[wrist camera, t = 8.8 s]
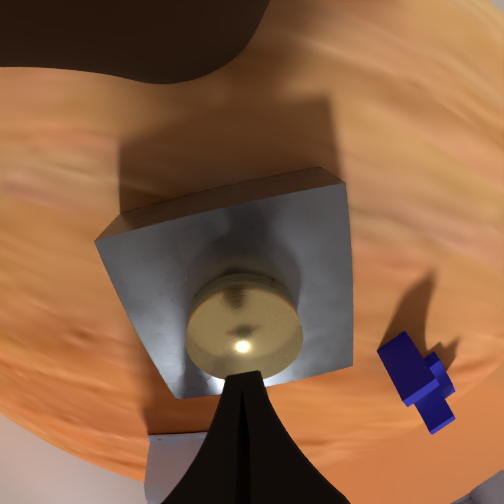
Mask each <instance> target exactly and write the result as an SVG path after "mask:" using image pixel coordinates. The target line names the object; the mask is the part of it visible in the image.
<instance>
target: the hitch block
mask: <svg viewBox="0 0 504 504" xmlns="http://www.w3.org/2000/svg"><path fill="white" fill-rule="evenodd" d="M94 242H95V244H96V247H97V249H98V252H99V254H100V257H101V259H102V261H103V264H104V266H105V268H106V270H107V273H108V275H109V277H110V279H111V282H112V284H113V286H114V288H115V290H116V292H117V294H118V296H119V299H120V301H121V303H122V305H123V307H124V309H125V311H126V313H127V315H128V317H129V319H130V321H131V322H132V324H133V326H134V328H135V330H136V332H137V334H138V336H139V338H140V339H141V341H142V343H143V345H144V347H145V348H146V350H147V352H148V354H149V355H150V357H151V359H152V361H153V362H154V364H155V366H156V367H157V369H158V371H159V372H160V374H161V376H162V377H163V379H164V381H165V382H166V384H167V386H168V387H169V389H170V390H171V392H172V393H173V395H174V397H175V398H176V399H184V398H194V397H202V396H210V395H218V394H222V390H223V386H224V382H225V380H221V379H218V378H215V377H213V376H211V375H209V374H207V373H205V372H204V371H202V370H201V369H200V368H199V367H197V366H196V365H195V363H194V362H193V361H192V360H191V358H190V356H189V354H188V352H187V349H186V343H185V338H186V331H187V324H188V318H189V312H190V307H191V304H192V302H193V300H194V298H195V296H196V295H197V293H198V292H199V291H200V290H201V289H202V288H203V287H204V286H206V285H207V284H208V283H210V282H211V281H213V280H215V279H217V278H220V277H222V276H226V275H229V274H235V273H253V274H259V275H263V276H266V277H268V278H271V279H273V280H275V281H276V282H278V283H279V284H281V285H282V286H283V287H284V288H285V289H286V290H287V291H288V292H289V294H290V295H291V297H292V299H293V301H294V304H295V307H296V310H297V313H298V316H299V319H300V322H301V326H302V329H303V336H304V339H303V345H302V348H301V351H300V353H299V355H298V356H297V358H296V359H295V360H294V361H293V363H292V364H291V365H289V366H288V367H287V368H286V369H284V370H283V371H281V372H280V373H278V374H276V375H274V376H272V377H269V378H266V379H263V381H264V384H265V387H266V386H271V385H276V384H281V383H286V382H291V381H295V380H300V379H304V378H308V377H312V376H316V375H320V374H324V373H328V372H332V371H336V370H339V369H343V368H347V367H350V366H353V278H352V256H351V239H350V225H349V213H348V202H347V192H346V183H345V182H343V181H342V180H340V179H339V178H337V177H336V176H334V175H332V174H331V173H329V172H328V171H326V170H324V169H323V168H321V167H318V168H312V169H307V170H301V171H296V172H290V173H285V174H280V175H275V176H270V177H265V178H261V179H256V180H251V181H247V182H242V183H237V184H233V185H229V186H224V187H220V188H216V189H212V190H207V191H203V192H199V193H195V194H191V195H187V196H183V197H179V198H176V199H172V200H168V201H164V202H161V203H157V204H153V205H150V206H146V207H143V208H139V209H136V210H132V211H129V212H125V213H122V214H119V215H118V216H117V217H116V218H115V220H114V221H113V222H112V223H111V224H110V225H109V226H108V227H107V228H106V229H105V230H104V231H103V232H102V233H101V234H100V235H99V236H98V237H97V239H96V240H95V241H94Z"/></svg>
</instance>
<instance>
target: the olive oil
mask: <svg viewBox="0 0 504 504" xmlns="http://www.w3.org/2000/svg"><path fill="white" fill-rule="evenodd" d="M269 1H270V0H0V67H41V68H56V69H68V70H77V71H86V72H94V73H101V74H107V75H113V76H117V77H122V78H126V79H131V80H135V81H139V82H145V83H152V84H173V83H180V82H185V81H189V80H193V79H196V78H199V77H202V76H204V75H207V74H209V73H211V72H213V71H215V70H217V69H219V68H220V67H222V66H223V65H225V64H226V63H228V62H229V61H231V60H232V59H233V58H234V57H235V56H236V55H238V54H239V53H240V52H241V51H242V50H243V48H244V47H245V46H246V45H247V44H248V42H249V41H250V39H251V38H252V36H253V35H254V33H255V31H256V29H257V27H258V25H259V23H260V21H261V19H262V16H263V14H264V12H265V10H266V8H267V6H268V4H269Z"/></svg>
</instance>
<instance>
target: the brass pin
mask: <svg viewBox="0 0 504 504" xmlns="http://www.w3.org/2000/svg"><path fill="white" fill-rule="evenodd" d="M303 339H304V336H303V329H302V326H301V322H300V319H299V316H298V313H297V310H296V307H295V304H294V301H293V299H292V297H291V295H290V294H289V292H288V291H287V290H286V289H285V288H284V287H283V286H282V285H281V284H279V283H278V282H276V281H275V280H273V279H271V278H268V277H266V276H263V275H259V274H253V273H235V274H229V275H226V276H222V277H220V278H217V279H215V280H213V281H211V282H210V283H208V284H207V285H206V286H204V287H203V288H202V289H201V290H200V291H199V292H198V293H197V295H196V296H195V298H194V300H193V302H192V304H191V307H190V312H189V318H188V324H187V331H186V338H185V343H186V349H187V352H188V354H189V356H190V358H191V360H192V361H193V362H194V363H195V365H196V366H197V367H199V368H200V369H201V370H202V371H204V372H205V373H207V374H209V375H211V376H213V377H215V378H218V379H221V380H225V377H226V376H227V375H233V374H239V373H244V372H250V371H255V370H258V371H261V374H262V378H263V379H266V378H269V377H272V376H274V375H276V374H278V373H280V372H281V371H283V370H284V369H286V368H287V367H288V366H289V365H291V364H292V363H293V361H294V360H295V359H296V358H297V356H298V355H299V353H300V351H301V348H302V345H303Z"/></svg>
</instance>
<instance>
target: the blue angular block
mask: <svg viewBox="0 0 504 504" xmlns="http://www.w3.org/2000/svg"><path fill="white" fill-rule="evenodd" d="M377 353H378V354H379V356H380V358H381V360H382V362H383V364H384V366H385V368H386V370H387V372H388V374H389V375H390V377H391V379H392V381H393V383H394V385H395V387H396V389H397V391H398V393H399V395H400V397H401V399H402V401H403V402H404V403H405V405H406V406H407V407H409V406H410V405H412V404H413V403H414V405H415V406H416V408H417V410H418V411H419V413H420V415H421V417H422V419H423V420H424V422H425V424H426V426H427V428H428V430H429V432H430V433H431V434H432V435H433V434H434V433H436V432H437V431H439V430H440V429H442V428H443V427H445V426H446V425H447V424H449V423H450V422H452V421H453V420H455V417H454V415H453V413H452V411H451V409H450V407H449V406H448V404H447V402H446V400H445V398H447V397H448V396H450V395H451V394H452V393H454V392H455V389H454V387H453V384H452V382H451V380H450V378H449V376H448V375H447V373H446V371H445V369H444V367H443V365H442V363H441V361H440V359H439V358H438V356H437V355H436V353H435V352H433V353H431V354H430V355H429V356H427V357H426V358H425V359H423V357H422V356H421V354H420V353H419V351H418V349H417V348H416V346H415V345H414V343H413V342H412V340H411V339H410V337H409V336H408V334H407V333H406V332H405V331H404V332H402V333H401V334H400V335H398V336H397V337H396V338H394V339H393V340H391V341H390V342H389V343H387V344H386V345H384V346H383V347H382V348H380V349H379V350H377Z"/></svg>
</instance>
